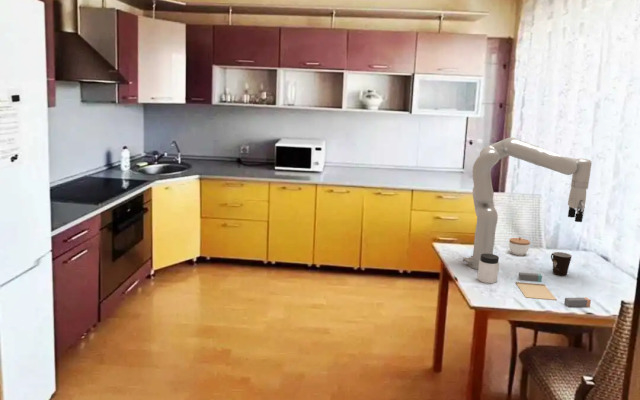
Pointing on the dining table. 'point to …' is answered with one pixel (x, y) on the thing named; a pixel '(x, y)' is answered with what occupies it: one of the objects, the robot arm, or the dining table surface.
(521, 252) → the lidded jar
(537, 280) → the marker
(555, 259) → the coffee mug
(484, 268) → the jar
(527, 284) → the notepad
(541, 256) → the dining table surface
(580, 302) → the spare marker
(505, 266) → the dining table surface
